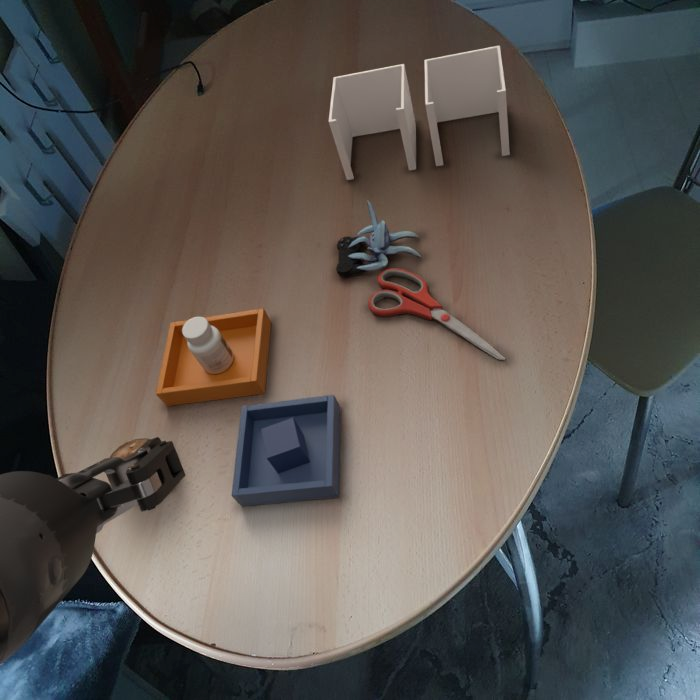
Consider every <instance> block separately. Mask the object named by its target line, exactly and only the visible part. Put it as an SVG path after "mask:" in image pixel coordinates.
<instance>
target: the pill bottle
mask: <svg viewBox="0 0 700 700" xmlns="http://www.w3.org/2000/svg"><path fill="white" fill-rule="evenodd" d="M187 320H188V321H187V322H186V323H185V324H184V326H183V329H182V333H183V335H184V337H185V338H186V340H187V345H188V348H189V350H190V351H191V353H192V354H193V355H194V357H195V358H196V359H197V361H198V362H199V363H200V365H201V366H202V367H203V369H204V370H205V371H206V372H208V373H210V374H219V373H222V372H224V371H225V370H227V369H228V368H229V367H230V365H231V364H232V362H233V358H234V355H233V352H232V350H231V349H230V347H229V346H228V344H227V343H226V341H225V340H224V338H223V337H222V335H221V334H220V332H219V331H218V329H217V328H215V327H214V326H211V325H210V324H209V322H208V321H207V320H206V319H205V318H204V316H194V317H191V318H190V319H187Z"/></svg>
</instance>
